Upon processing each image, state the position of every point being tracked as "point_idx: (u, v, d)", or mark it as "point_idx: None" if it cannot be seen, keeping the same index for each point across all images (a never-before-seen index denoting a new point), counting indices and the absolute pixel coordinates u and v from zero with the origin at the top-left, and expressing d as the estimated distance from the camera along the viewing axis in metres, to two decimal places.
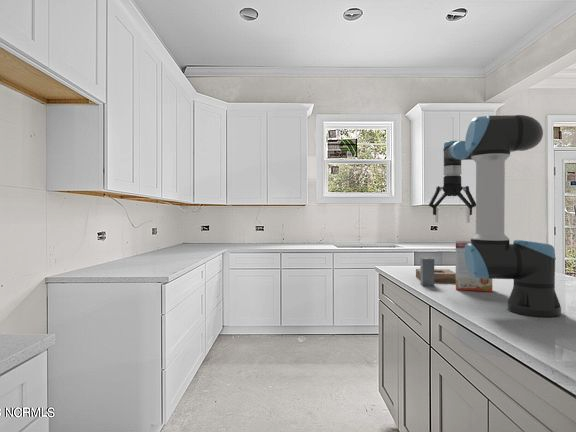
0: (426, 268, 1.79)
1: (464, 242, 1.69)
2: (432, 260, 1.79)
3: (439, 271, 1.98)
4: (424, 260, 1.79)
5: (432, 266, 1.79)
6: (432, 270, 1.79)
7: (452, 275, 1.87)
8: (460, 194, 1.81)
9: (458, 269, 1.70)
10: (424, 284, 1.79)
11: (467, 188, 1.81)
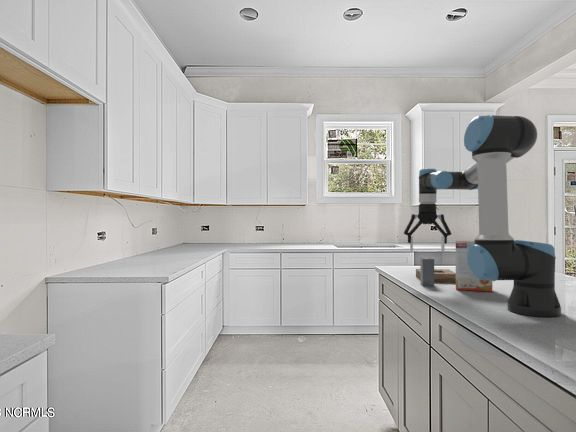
0: (426, 268, 1.79)
1: (464, 242, 1.69)
2: (432, 260, 1.79)
3: (439, 271, 1.98)
4: (424, 260, 1.79)
5: (432, 266, 1.79)
6: (432, 270, 1.79)
7: (452, 275, 1.87)
8: (435, 222, 1.79)
9: (458, 269, 1.70)
10: (424, 284, 1.79)
11: (442, 216, 1.79)
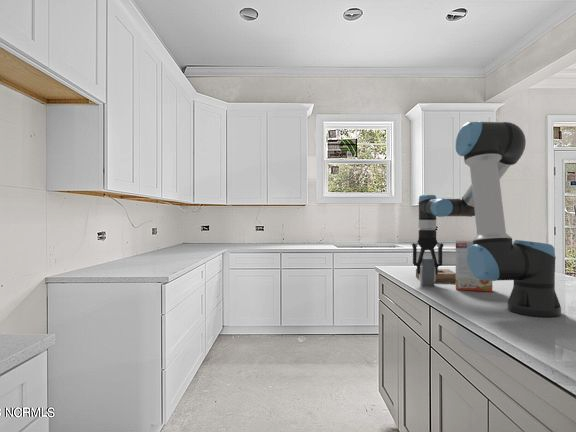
0: (426, 268, 1.79)
1: (464, 242, 1.69)
2: (432, 260, 1.79)
3: (439, 271, 1.98)
4: (424, 260, 1.79)
5: (432, 266, 1.79)
6: (432, 270, 1.79)
7: (452, 275, 1.87)
8: (432, 250, 1.79)
9: (458, 269, 1.70)
10: (424, 284, 1.79)
11: (441, 245, 1.79)
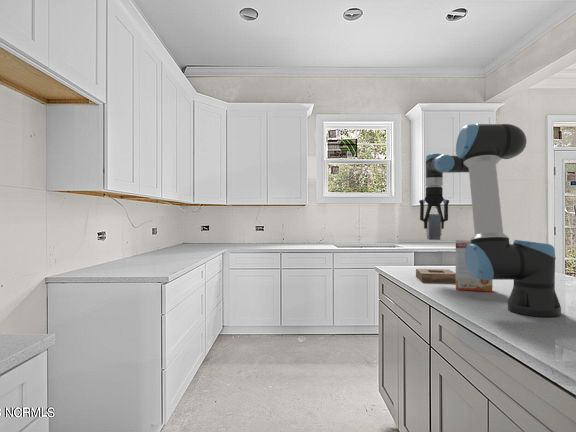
0: (432, 223, 1.90)
1: (464, 242, 1.69)
2: (438, 215, 1.89)
3: (439, 271, 1.98)
4: (431, 215, 1.90)
5: (438, 221, 1.89)
6: (438, 225, 1.89)
7: (452, 275, 1.87)
8: (439, 206, 1.90)
9: (458, 269, 1.70)
10: (431, 238, 1.90)
11: (447, 202, 1.90)
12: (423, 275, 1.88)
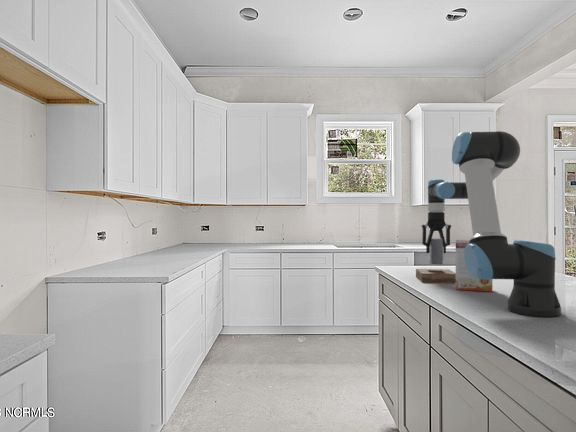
0: (435, 248, 1.93)
1: (464, 242, 1.69)
2: (440, 240, 1.92)
3: (439, 271, 1.98)
4: (433, 240, 1.93)
5: (440, 246, 1.92)
6: (440, 249, 1.92)
7: (452, 275, 1.87)
8: (441, 231, 1.93)
9: (458, 269, 1.70)
10: (433, 262, 1.93)
11: (449, 227, 1.93)
12: (423, 275, 1.88)
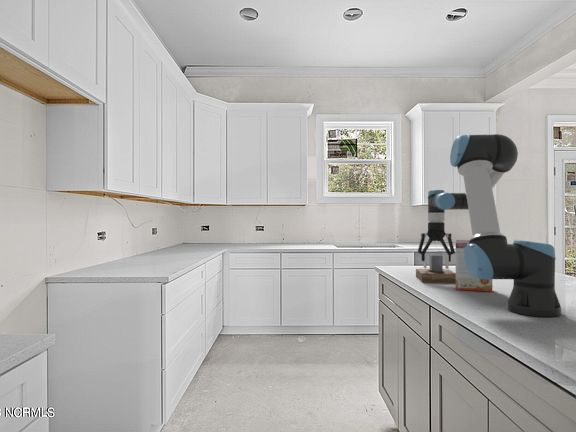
0: (435, 264, 1.93)
1: (464, 242, 1.69)
2: (440, 256, 1.92)
3: None
4: (433, 256, 1.93)
5: (440, 262, 1.93)
6: (440, 266, 1.93)
7: (452, 275, 1.87)
8: (442, 240, 1.93)
9: (458, 269, 1.70)
10: None
11: (449, 235, 1.93)
12: (423, 275, 1.88)
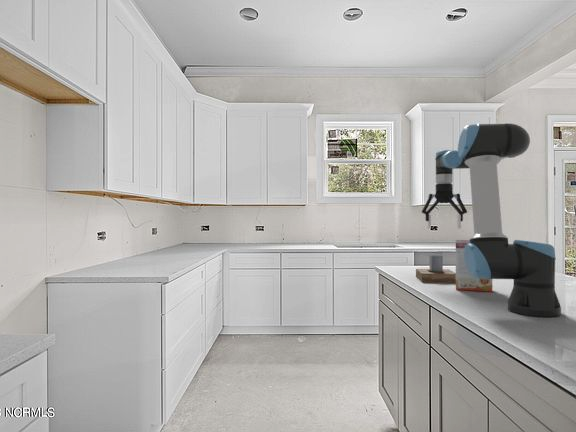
0: (435, 264, 1.93)
1: (464, 242, 1.69)
2: (440, 256, 1.92)
3: None
4: (433, 256, 1.93)
5: (440, 262, 1.93)
6: (440, 266, 1.93)
7: (452, 275, 1.87)
8: (451, 201, 1.90)
9: (458, 269, 1.70)
10: None
11: (458, 195, 1.90)
12: (423, 275, 1.88)
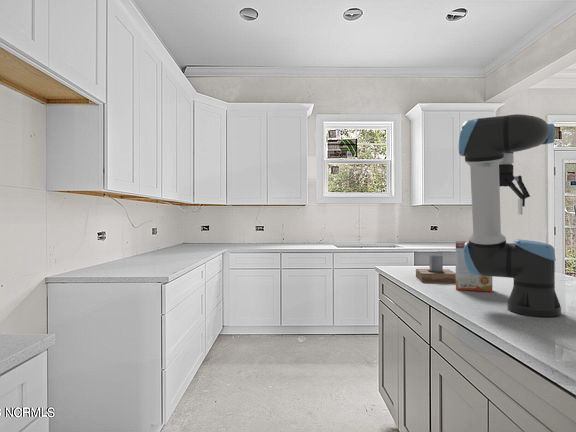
0: (435, 264, 1.93)
1: (464, 242, 1.69)
2: (440, 256, 1.92)
3: None
4: (433, 256, 1.93)
5: (440, 262, 1.93)
6: (440, 266, 1.93)
7: (452, 275, 1.87)
8: (512, 184, 1.70)
9: (458, 269, 1.70)
10: None
11: (520, 178, 1.70)
12: (423, 275, 1.88)
